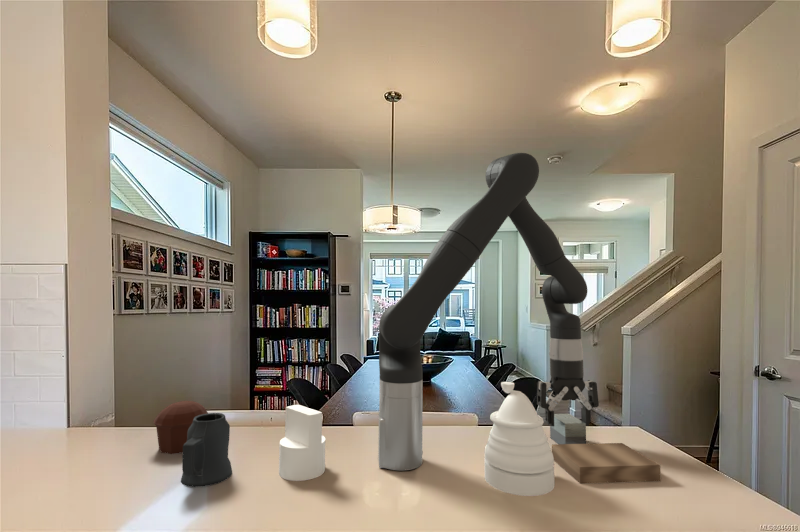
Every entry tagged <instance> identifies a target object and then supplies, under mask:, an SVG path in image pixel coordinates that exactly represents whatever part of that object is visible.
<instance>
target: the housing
mask: <svg viewBox="0 0 800 532" xmlns="http://www.w3.org/2000/svg"><path fill="white" fill-rule="evenodd" d="M549 436H550V437H549V438H550V439H551V440H552V441H553V442H555V444H587V426H586V423H585V422H583V421H582V420H581V419H580V418H579V417H578V418H577V417H576V416H574V415H572V414H571V413H554V426H552V427H551V426H549Z"/></svg>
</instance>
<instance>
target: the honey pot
mask: <svg viewBox="0 0 800 532" xmlns="http://www.w3.org/2000/svg"><path fill="white" fill-rule="evenodd" d="M500 386H501V388H502V391H503V392H504V393H505V394H508V395H507V396H506V397H505V398H504V400H503V402H502V403H501V405H500V407H499V408H498V410H496V411H494V412H492V413H491V414H490V417H489V419H490V421H491V422H492V423H493V425H492V428H491V429H490V430H489V436H488V438H487V443H486V445H485V447H484V456H483V457H484V460H483V462H484V463H483V464H484V465H483V466H484V480H485V482H486V484H487V483H488V485H489V486H490V487H492V488H494V489H496V490H497V491H501V492H503V493H505V494H510V495H514V496H520V497H521V496H522V497H524V496H525V497H535V496H536V497H537V496H544V495H546V494H550V492H552V491H553V490H554V488H555V466H554V465H555V464H554V462H555V461H554V458H553V454H552V449H551V446H550V443H549V441H548V435H547V434H546V433H545V430H544V427H543V424H544V418H543V417H541V416H540V415H539V414H538V413H537V411H536V408H535V407H534V404H533V403H532V402H531V400H530V399H529V397H528V396H527V395H526V394H525V393H523V392H522V391H520V390H514V388H515V383H514V382H512V381H501V382H500Z"/></svg>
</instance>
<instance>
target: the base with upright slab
mask: <svg viewBox="0 0 800 532" xmlns="http://www.w3.org/2000/svg"><path fill="white" fill-rule="evenodd" d="M284 418H285V422H284V423H285V424H284V425H285V426H284V428H285V429H284V437H282V438H281V439H280V440H279V450H278V451H279V452H278V453H279V454H278V456H279V457H278V476H279V477H280V478H281V479H284V480H286V481H291V482H300V481H301V482H303V481H307V480H308V481H309V480H311V479H312V480H313V479H315V478H318V477H320V476H322V475H323V474H324V472H325V471H326V437H325V436H324V435H323V434H322V433H323V412H322V411H319V410H316V409H314V408H309V407H307V406H304V405H301V404H292V405H289V406H286V407H285V417H284Z"/></svg>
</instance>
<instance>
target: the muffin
mask: <svg viewBox="0 0 800 532" xmlns="http://www.w3.org/2000/svg"><path fill="white" fill-rule="evenodd" d="M207 413H208V411H207V410H206V408H205V406H204V405H203V404H201V403H199V402H197V401H193V400H182V401H177V402H174V403H171V404H169V405H168V406H166V407H165V408H163V409H162V410H160V412H159V413H158V414H157V415H156V417H155V418H154V419H153V424H154V425H155V427H156V434H157V443H158V449H159V451H160V453H161V454H166V455H167V454H168V455H174V454H175V455H177V454H183V445H184V444H185V443H186V442H187V432H188V429H189V427H190V426H191V424H192V423H193V419H194V418H195V417H196V416H198V415H202V414H207Z"/></svg>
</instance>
